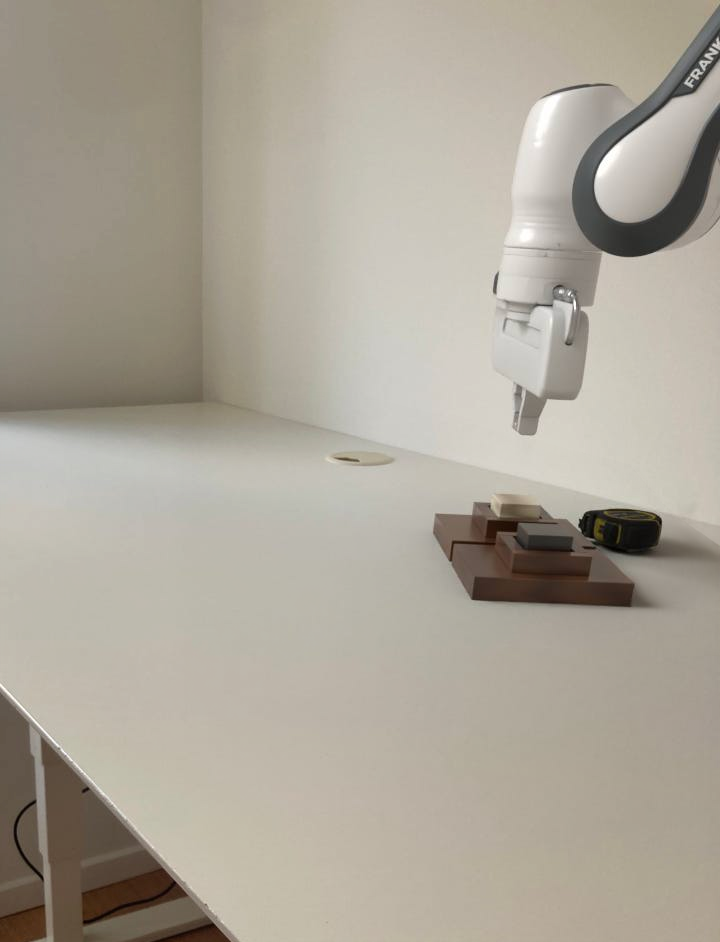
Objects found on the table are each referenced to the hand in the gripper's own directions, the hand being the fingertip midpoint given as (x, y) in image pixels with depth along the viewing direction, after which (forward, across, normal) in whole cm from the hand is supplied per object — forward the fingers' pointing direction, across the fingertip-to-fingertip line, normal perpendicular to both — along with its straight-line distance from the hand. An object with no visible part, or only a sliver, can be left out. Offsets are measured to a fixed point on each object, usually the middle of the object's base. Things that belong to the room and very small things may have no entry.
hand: (523, 432), depth 100 cm
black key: (+8, -11, 0) cm, 14 cm away
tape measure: (+12, +3, -12) cm, 18 cm away
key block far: (+12, 0, 0) cm, 12 cm away
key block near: (+12, -11, 0) cm, 16 cm away
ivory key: (+8, 0, 0) cm, 8 cm away
